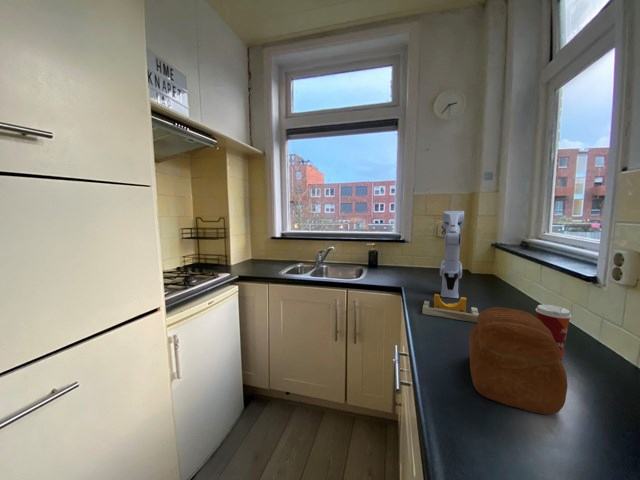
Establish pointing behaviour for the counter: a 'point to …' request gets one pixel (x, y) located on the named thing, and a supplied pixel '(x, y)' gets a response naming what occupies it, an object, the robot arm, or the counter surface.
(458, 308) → the pipe clamp
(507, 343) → the bread
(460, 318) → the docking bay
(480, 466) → the counter surface
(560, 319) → the paper cup
